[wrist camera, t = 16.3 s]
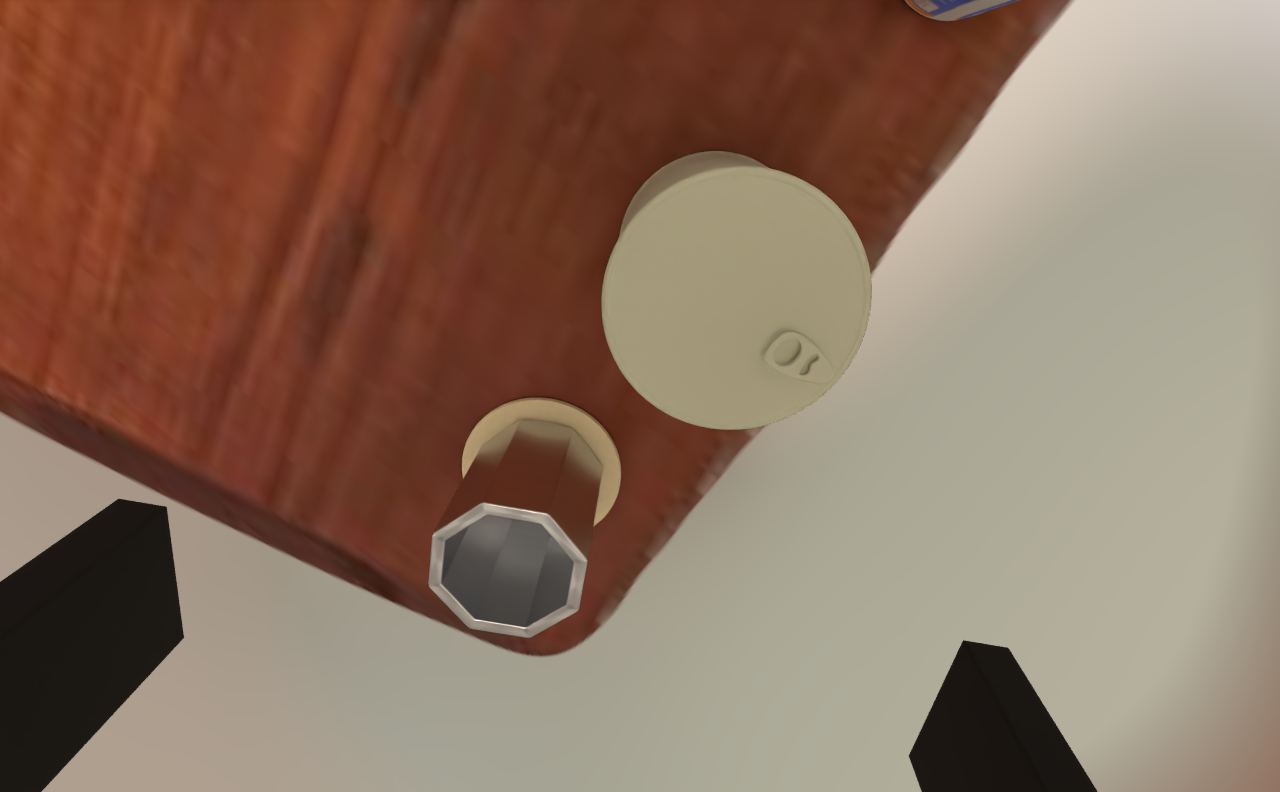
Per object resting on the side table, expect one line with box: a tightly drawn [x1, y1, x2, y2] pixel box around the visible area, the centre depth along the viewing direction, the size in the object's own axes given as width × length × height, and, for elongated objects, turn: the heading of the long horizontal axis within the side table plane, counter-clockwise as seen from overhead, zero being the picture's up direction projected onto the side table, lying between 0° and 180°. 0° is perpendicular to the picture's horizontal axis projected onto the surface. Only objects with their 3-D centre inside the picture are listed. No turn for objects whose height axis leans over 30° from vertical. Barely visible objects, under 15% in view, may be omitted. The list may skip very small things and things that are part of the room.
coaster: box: [462, 397, 621, 526], centre depth 38 cm, size 9×9×1 cm
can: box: [601, 151, 872, 430], centre depth 28 cm, size 9×9×12 cm
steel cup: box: [429, 419, 603, 638], centre depth 34 cm, size 7×7×9 cm
